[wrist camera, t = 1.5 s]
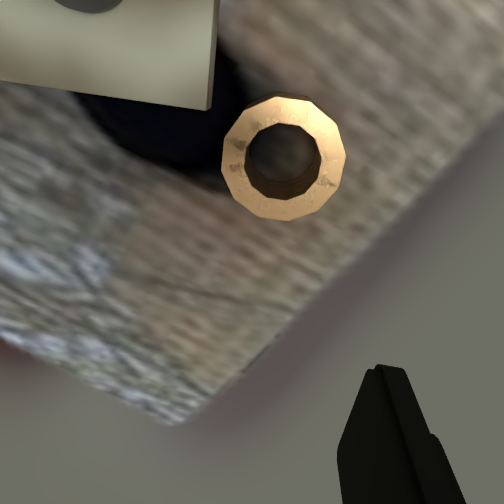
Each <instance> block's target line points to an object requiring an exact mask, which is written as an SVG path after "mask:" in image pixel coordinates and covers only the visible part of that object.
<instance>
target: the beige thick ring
mask: <svg viewBox="0 0 504 504" xmlns="http://www.w3.org/2000/svg"><path fill="white" fill-rule="evenodd" d="M276 123H285V124H292V125H299V126H300V127H302V128H303V129H304V130H305V131H306V132H308V133H309V134H310V135H311V136H312V137H314V140H315V143H316V150H315V155H314V160H313V163H312V165H311V166H310V167H309V168H308V169H307V170H306V172H305V173H304V174H303V175H302V176H301V177H298V178H296V179H293V180H290V181H288V182H279V181H273V180H268V179H267V178H266V177H264V176H263V175H262V174H260V173H259V172H258V171H257V170H255V167H254V165H253V163H252V160H251V158H250V155H249V148H250V142H251V140H252V139H253V138H254V136H255V135H256V134H257V132H258V131H259V130H262V129H264V128H267V127H269V126H271V125H274V124H276ZM345 158H346V155H345V151H344V148H343V145H342V142H341V138H340V135H339V132H338V129H337V125H336V123H335V122H334V121H333V120H332V119H331V118H330V117H329V115H327V114H326V113H325V112H324V111H323V110H322V109H320V108H319V107H318V106H317V105H316V104H315V103H313V102H312V101H311V100H310V99H309V98H308V97H307V96H302V95H295V94H289V93H282V92H275V93H273V94H270V95H268V96H266V97H263V98H261V99H259V100H257V101H254V102H252V103H250V104H249V105H248V106H247V107H246V108H245V110H244V111H243V113H242V114H241V115H240V117H239V118H238V120H237V121H236V122H235V124H234V125H233V127H232V128H231V129H230V131H229V132H228V134H227V135H226V136H225V138H224V146H223V156H222V167H221V171H222V173H223V176H224V178H225V180H226V182H227V185H228V187H229V189H230V191H231V193H232V196H233V198H234V199H235V200H236V201H238V202H239V203H240V204H242V205H243V206H244V207H246V208H247V209H248V210H250V211H251V212H252V213H254V214H255V215H256V216H258V217H262V218H269V219H276V220H283V221H290V220H293V219H296V218H299V217H302V216H304V215H307V214H310V213H313V212H316V211H318V209H319V208H320V207H321V206H322V205H323V204H324V203H325V202H326V201H327V200H328V198H329V197H330V196H331V195H332V194H333V193H334V192H335V191H336V190H337V189H338V188H339V183H340V179H341V175H342V170H343V166H344V162H345Z"/></svg>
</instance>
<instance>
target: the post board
mask: <svg viewBox="0 0 504 504" xmlns="http://www.w3.org/2000/svg"><path fill="white" fill-rule="evenodd" d="M219 3H220V0H0V80H1V81H8V82H14V83H21V84H28V85H35V86H42V87H48V88H55V89H62V90H69V91H75V92H82V93H89V94H96V95H103V96H109V97H116V98H123V99H130V100H136V101H143V102H150V103H157V104H164V105H170V106H177V107H184V108H191V109H197V110H204V111H206V110H208V109H209V108H211V103H212V91H213V78H214V66H215V53H216V41H217V28H218V16H219Z"/></svg>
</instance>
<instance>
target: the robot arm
mask: <svg viewBox="0 0 504 504" xmlns="http://www.w3.org/2000/svg"><path fill="white" fill-rule="evenodd" d="M337 464H338V472H339V480H340V487H341V494H342V502H343V504H466V502H465V499H464V497H463V495H462V492H461V490H460V487H459V485H458V483H457V480H456V478H455V476H454V473H453V471H452V468H451V466H450V463H449V461H448V459H447V456H446V454H445V452H444V449H443V447H442V445H441V443H440V441H439V439H438V438H437V437H436V436H435V435H434V434H430V432H429V429H428V427H427V424H426V422H425V419H424V417H423V414H422V412H421V409H420V407H419V404H418V402H417V399H416V397H415V394H414V392H413V389H412V387H411V384H410V382H409V379H408V377H407V374H406V372H405V370H404V369H402V368H398V367H393V366H387V365H380V364H377V365H376V366H375V368H374V370H373V369H368V370H367V371H366V373H365V376H364V379H363V381H362V384H361V387H360V389H359V392H358V395H357V397H356V400H355V402H354V405H353V408H352V410H351V413H350V416H349V418H348V421H347V424H346V426H345V429H344V432H343V434H342V437H341V440H340V442H339V445H338V450H337Z"/></svg>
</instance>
